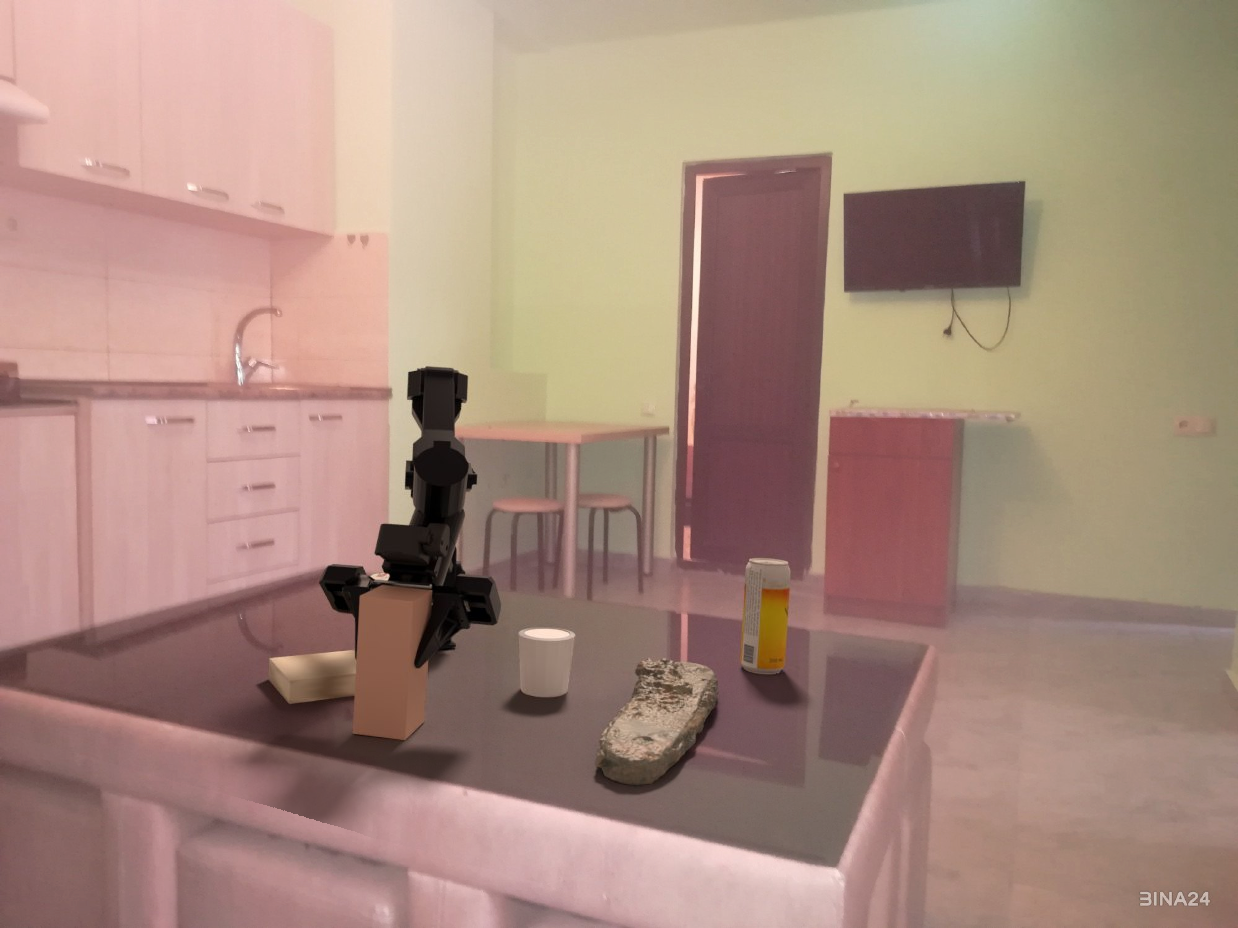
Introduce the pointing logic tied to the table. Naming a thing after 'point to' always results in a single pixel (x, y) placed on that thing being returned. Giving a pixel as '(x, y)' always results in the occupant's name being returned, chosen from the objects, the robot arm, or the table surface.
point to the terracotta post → (390, 662)
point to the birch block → (314, 676)
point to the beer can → (765, 615)
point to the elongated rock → (657, 721)
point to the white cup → (545, 660)
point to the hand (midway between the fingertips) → (387, 663)
